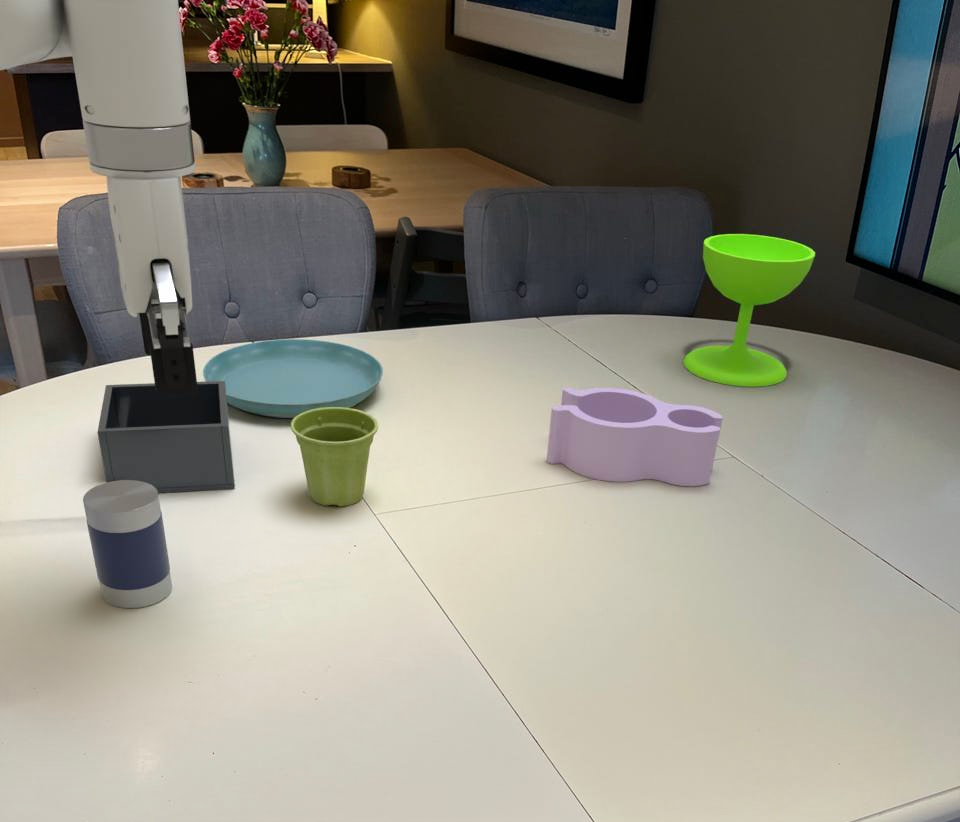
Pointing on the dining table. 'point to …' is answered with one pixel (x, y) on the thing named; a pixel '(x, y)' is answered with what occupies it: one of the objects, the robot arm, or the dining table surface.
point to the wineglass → (748, 302)
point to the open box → (167, 437)
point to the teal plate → (294, 376)
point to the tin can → (128, 543)
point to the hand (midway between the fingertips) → (170, 373)
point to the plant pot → (335, 452)
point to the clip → (632, 437)
